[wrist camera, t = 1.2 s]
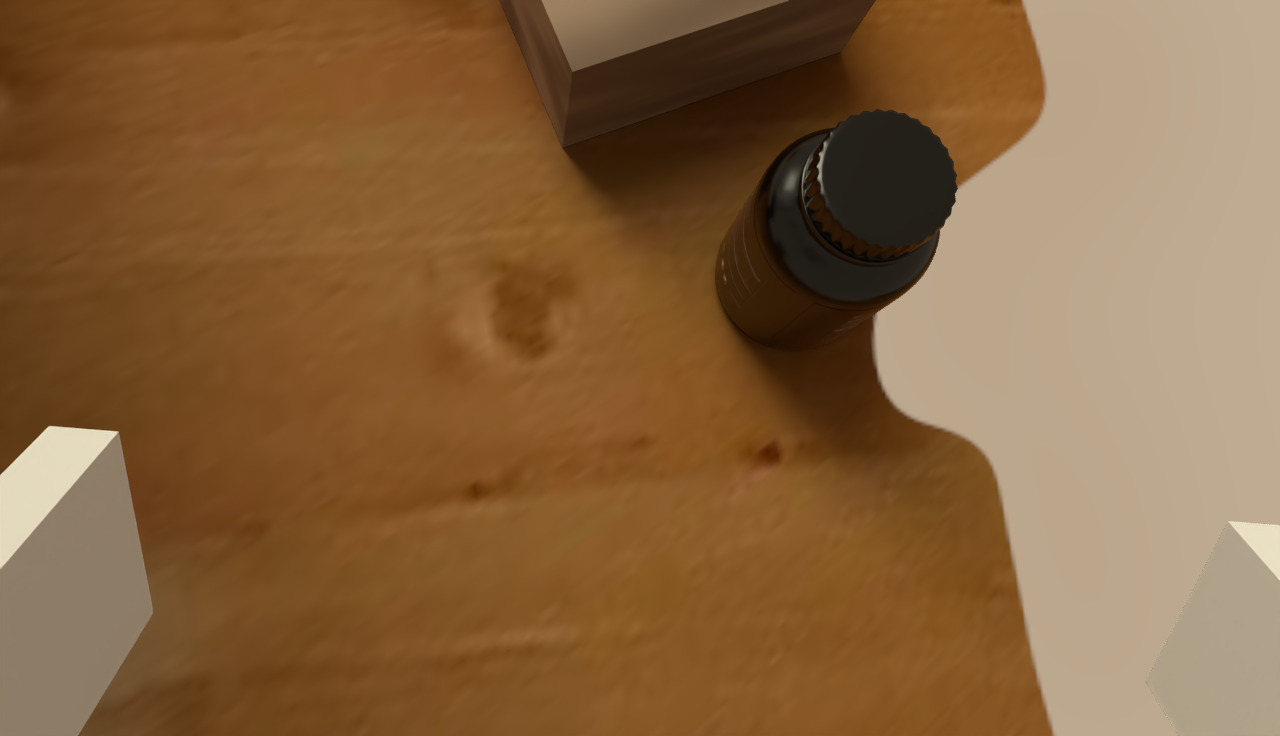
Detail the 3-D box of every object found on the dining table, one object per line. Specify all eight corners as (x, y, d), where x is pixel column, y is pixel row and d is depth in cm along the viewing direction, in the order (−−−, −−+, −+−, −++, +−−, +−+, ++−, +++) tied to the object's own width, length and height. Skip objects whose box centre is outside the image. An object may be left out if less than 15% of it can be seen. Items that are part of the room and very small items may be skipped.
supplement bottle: (854, 205, 43) (982, 81, 31) (866, 353, 42) (1003, 282, 30) (706, 203, 42) (781, 75, 30) (713, 355, 41) (794, 282, 29)
